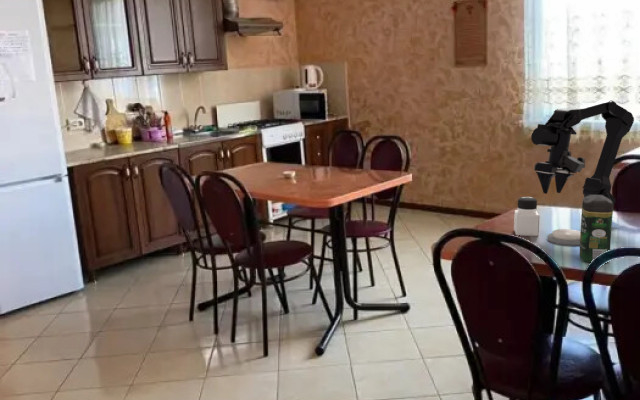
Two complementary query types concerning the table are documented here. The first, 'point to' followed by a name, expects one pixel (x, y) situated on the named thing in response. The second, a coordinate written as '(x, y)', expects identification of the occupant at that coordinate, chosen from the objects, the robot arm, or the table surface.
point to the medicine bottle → (526, 217)
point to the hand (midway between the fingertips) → (552, 193)
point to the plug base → (569, 243)
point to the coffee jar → (595, 226)
